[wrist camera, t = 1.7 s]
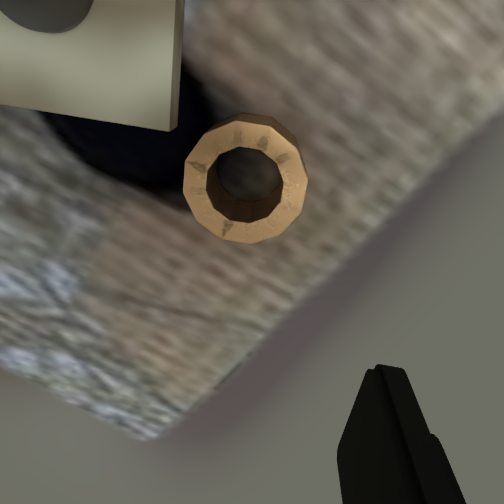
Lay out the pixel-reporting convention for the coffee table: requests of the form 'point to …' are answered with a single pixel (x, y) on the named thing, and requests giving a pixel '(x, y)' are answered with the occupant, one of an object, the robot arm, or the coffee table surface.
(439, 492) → the robot arm
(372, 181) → the coffee table surface
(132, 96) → the post board
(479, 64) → the coffee table surface
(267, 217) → the beige thick ring
